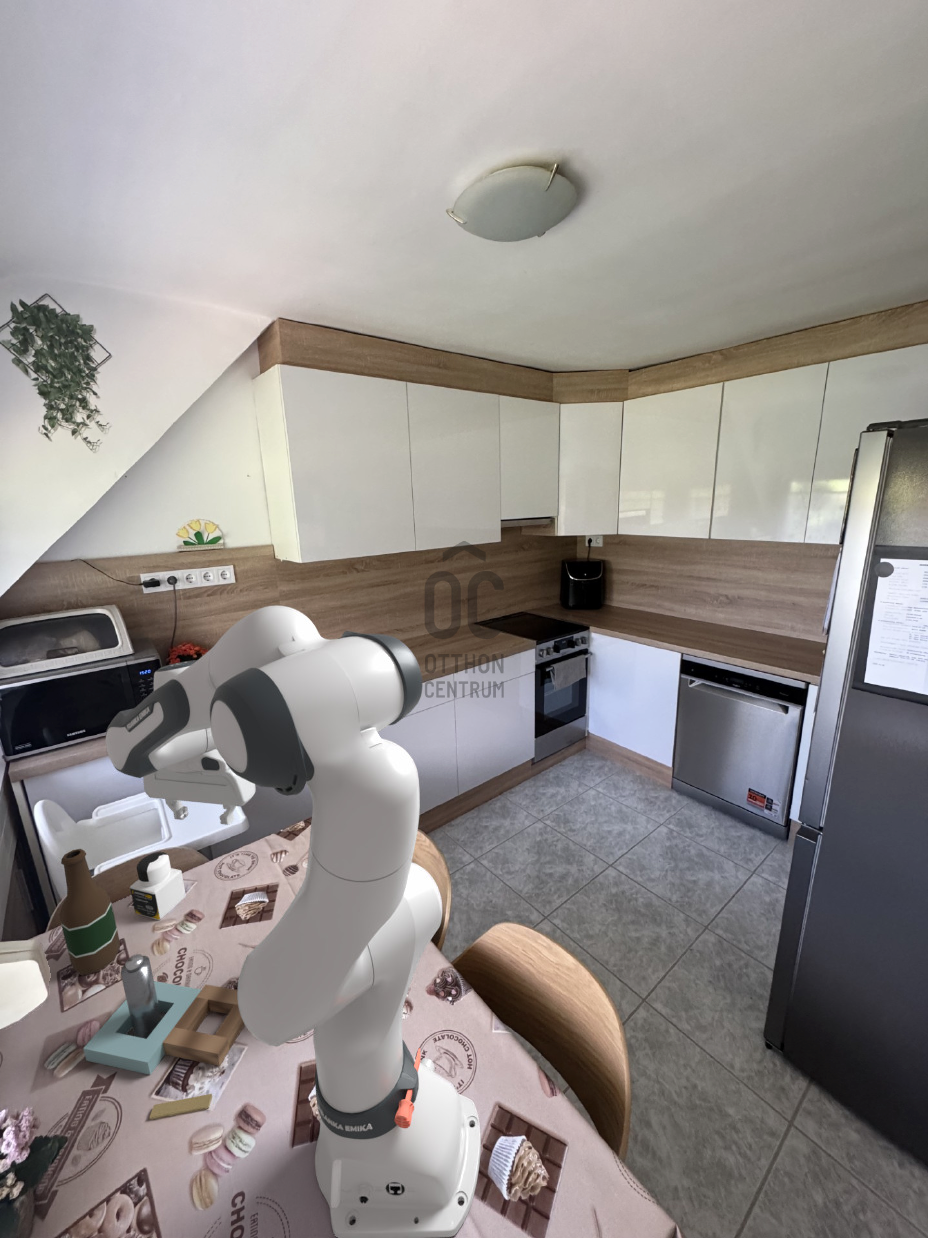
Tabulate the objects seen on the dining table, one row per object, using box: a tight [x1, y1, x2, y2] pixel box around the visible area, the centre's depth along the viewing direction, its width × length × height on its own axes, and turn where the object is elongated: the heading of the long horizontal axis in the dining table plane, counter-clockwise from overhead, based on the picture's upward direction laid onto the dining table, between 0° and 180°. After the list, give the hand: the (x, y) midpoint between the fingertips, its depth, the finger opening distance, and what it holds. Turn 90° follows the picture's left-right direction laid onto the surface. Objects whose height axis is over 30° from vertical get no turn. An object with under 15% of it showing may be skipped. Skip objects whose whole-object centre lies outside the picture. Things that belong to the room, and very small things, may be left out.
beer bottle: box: [59, 848, 121, 977], centre depth 95 cm, size 8×8×24 cm
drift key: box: [149, 1093, 213, 1121], centre depth 73 cm, size 8×2×1 cm, turn 99°
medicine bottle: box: [129, 851, 187, 921], centre depth 109 cm, size 7×7×12 cm
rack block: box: [83, 980, 202, 1076], centre depth 84 cm, size 12×12×2 cm
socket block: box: [163, 984, 245, 1067], centre depth 83 cm, size 10×10×2 cm
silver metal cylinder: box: [120, 953, 163, 1039], centre depth 82 cm, size 4×4×14 cm
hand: (204, 820), depth 89 cm, fingers open, 8 cm apart
